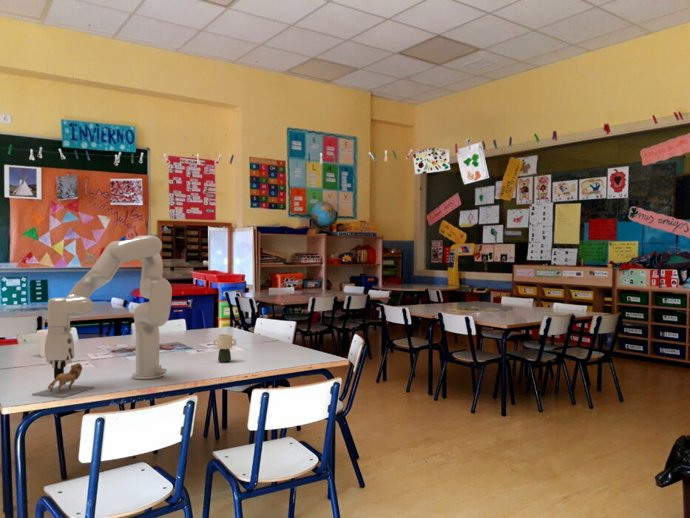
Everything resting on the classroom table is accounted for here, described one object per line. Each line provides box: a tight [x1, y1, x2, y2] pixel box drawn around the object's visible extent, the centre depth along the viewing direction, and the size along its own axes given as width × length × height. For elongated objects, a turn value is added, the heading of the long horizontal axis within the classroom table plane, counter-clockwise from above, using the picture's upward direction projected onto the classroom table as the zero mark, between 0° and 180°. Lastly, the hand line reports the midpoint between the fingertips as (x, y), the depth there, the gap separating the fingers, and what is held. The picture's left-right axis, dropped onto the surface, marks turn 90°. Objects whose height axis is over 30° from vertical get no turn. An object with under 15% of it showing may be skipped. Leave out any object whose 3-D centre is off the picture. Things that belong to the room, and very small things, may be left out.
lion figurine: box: [47, 362, 83, 392], centre depth 213 cm, size 15×5×9 cm
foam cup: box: [36, 328, 48, 358], centre depth 285 cm, size 10×9×13 cm
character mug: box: [212, 333, 237, 363], centre depth 273 cm, size 11×7×13 cm, turn 93°
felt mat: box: [31, 384, 95, 399], centre depth 214 cm, size 14×16×1 cm
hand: (58, 378), depth 214 cm, fingers closed
